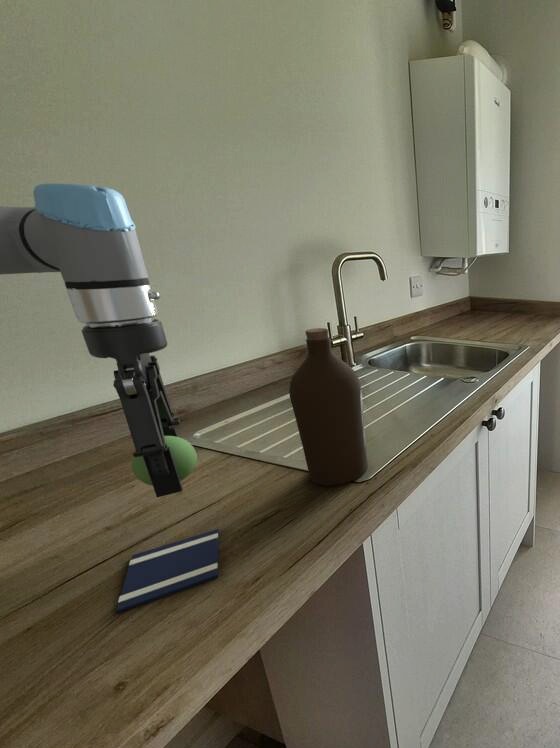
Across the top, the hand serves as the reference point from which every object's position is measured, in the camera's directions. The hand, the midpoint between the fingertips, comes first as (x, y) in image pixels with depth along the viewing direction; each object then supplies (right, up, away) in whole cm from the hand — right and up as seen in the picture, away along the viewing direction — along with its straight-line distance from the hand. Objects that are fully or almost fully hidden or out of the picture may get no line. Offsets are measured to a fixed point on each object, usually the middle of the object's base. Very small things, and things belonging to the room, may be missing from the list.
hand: (172, 480), depth 59 cm
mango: (0, +3, -1) cm, 3 cm away
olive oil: (+19, -2, +13) cm, 23 cm away
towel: (+7, -9, -8) cm, 14 cm away
